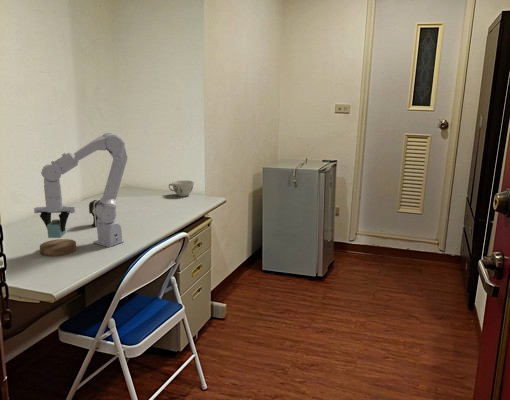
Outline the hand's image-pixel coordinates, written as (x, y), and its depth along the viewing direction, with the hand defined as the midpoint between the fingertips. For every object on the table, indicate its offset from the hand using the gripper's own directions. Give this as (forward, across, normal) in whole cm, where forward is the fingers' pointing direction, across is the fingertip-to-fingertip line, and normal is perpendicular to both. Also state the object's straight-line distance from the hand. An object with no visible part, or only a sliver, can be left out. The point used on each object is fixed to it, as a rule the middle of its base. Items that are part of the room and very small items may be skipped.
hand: (56, 230), depth 183 cm
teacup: (+8, -36, -94) cm, 101 cm away
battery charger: (+8, -5, -35) cm, 36 cm away
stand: (+8, 0, 0) cm, 8 cm away
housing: (+2, 0, 0) cm, 2 cm away
